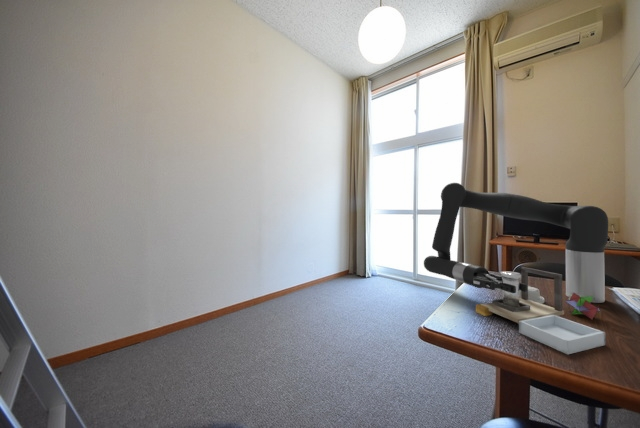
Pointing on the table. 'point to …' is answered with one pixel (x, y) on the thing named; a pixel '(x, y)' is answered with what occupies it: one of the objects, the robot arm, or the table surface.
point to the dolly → (526, 301)
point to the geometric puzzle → (582, 305)
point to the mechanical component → (534, 295)
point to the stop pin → (511, 279)
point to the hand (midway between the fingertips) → (520, 288)
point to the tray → (562, 333)
